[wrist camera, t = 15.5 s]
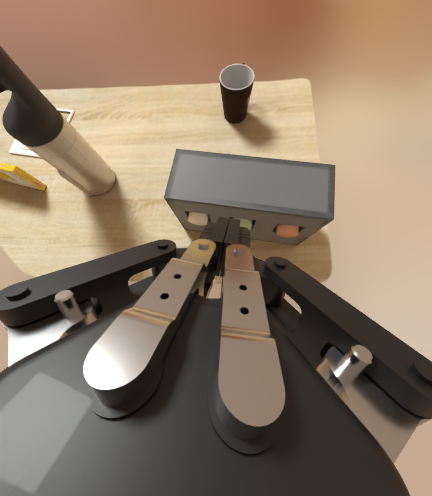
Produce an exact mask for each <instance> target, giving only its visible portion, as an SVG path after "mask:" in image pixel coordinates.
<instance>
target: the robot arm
mask: <svg viewBox="0 0 432 496" xmlns="http://www.w3.org/2000/svg"><path fill="white" fill-rule="evenodd" d="M7 89H8V90H10V91H12V96H11V99H10V101H9V103H8V105H7V107H6V109H5V111H4V114H3V125H4V128H5V129H6V131H7V132H8V133H9V134H10V135H11V136H12V137H14V138H15V139H16V140H18V141H19V142H20V143H22V144H23V145H25V146H26V147H27V148H29V149H30V150H31V151H33V152H34V153H35V154H37V155H38V156H40V157H41V158H42V159H44V160H45V161H46V162H48V163H49V164H50V165H52V166H53V167H55V168H56V169H57V171H58V172H59V174H60V175H61V176H62V177H63V178H65V179H66V180H67V181H69V182H70V183H72V184H73V185H74V186H76V187H77V188H79V189H80V190H81V191H83V192H84V193H86V194H87V195H88V196H90V197H91V196H92V195H100V194H103V193H105V192H107V191H109V190H110V189H111V188H112V186H113V185H114V183H115V173H114V171H113V170H112V169H111V168H110V166H109V165H108V164H107V163H106V162H105V161H104V160H103V159H102V158H101V157H100V156H99V155H98V154H97V152H96V151H95V150H94V149H93V148H92V147H91V146H90V145H89V144H88V143H87V142H86V141H85V139H84V138H83V137H82V136H81V135H80V134H79V133H78V132H77V131H76V130H75V129H74V128H73V126H72V125H71V124H70V123H69V122H68V121H67V120H66V119H65V118H64V117H63V116H62V115H61V114H60V112H59V111H58V110H57V109H56V108H55V107H54V106H53V105H52V104H51V103H50V102H49V101H48V100H47V98H46V97H45V96H44V95H43V94H42V93H41V92H40V91H39V90H38V89H37V88H36V86H35V85H34V84H33V83H32V82H31V81H30V80H29V79H28V78H27V77H26V75H25V74H24V73H23V72H22V71H21V70H20V68H19V67H18V66H17V65H16V64H15V63H14V61H13V60H12V59H11V58H10V57H9V56H8V54H7V53H6V52H5V51H4V50H3V48H2V47H1V46H0V93H1V92H3V91H5V90H7ZM149 268H152V273H153V276H151V277H148V278H146V279H144V280H141V281H139V282H137V283H134V284H132V285H130V286H128V280H129V278H130V277H131V276H133V275H134V274H137V273H139V272H142V271H144V270H147V269H149ZM220 270H221V273H220ZM219 274H220V276H222V277H223V278H222V287H221V297H220V299H208V296H209V293H210V290H211V288H212V285H213V280H214V277H215V275H216V276H219ZM285 293H286V294H287V295H289V296H290V297H291V298H292V299H293V300H294V301H295V302H296V303H298V305H299V306H300V308H301V311H302V314H300V313H299V312H298V311H297V310H296V309H295V308H294V307H293V306H291V304H289V303H288V302H287V301H286V300H285V299H284V296H285ZM0 320H1V323H2V325H3V326H4V328H5V329H6V330H7V331H8V335H9V336H8V337H9V339H8V341H9V342H8V347H9V367H7V368H6V369H4V370H3V371H2V372H0V496H410V494H409V492H408V490H407V487H406V485H405V483H404V481H403V479H402V477H401V475H400V474H399V472H398V470H397V469H396V467H395V465H394V462H395V461H396V459H397V458H398V456H399V454H400V453H401V451H402V449H403V448H404V446H405V445H406V443H407V441H408V440H409V438H410V436H411V435H412V433H413V432H414V430H415V429H416V427H418V426H419V425H421V424H423V423H425V422H427V421H429V420H431V419H432V362H431V361H430V360H428V359H427V358H425V357H424V356H423V355H421V354H420V353H418V352H417V351H415V350H414V349H413V348H411V347H410V346H408V345H407V344H406V343H404V342H403V341H401V340H400V339H398V338H397V337H396V336H394V335H393V334H391V333H390V332H389V331H387V330H386V329H384V328H383V327H382V326H380V325H379V324H377V323H376V322H375V321H373V320H372V319H370V318H369V317H367V316H366V315H365V314H363V313H362V312H360V311H359V310H358V309H356V308H355V307H353V306H352V305H350V304H349V303H348V302H346V301H345V300H343V299H342V298H341V297H339V296H338V295H336V294H335V293H333V292H332V291H331V290H329V289H328V288H326V287H325V286H324V285H322V284H321V283H319V282H318V281H317V280H315V279H314V278H312V277H311V276H310V275H308V274H307V273H305V272H304V271H302V270H301V269H300V268H298V267H297V266H295V265H294V264H293V263H291V262H290V261H288V260H286V259H284V258H281V257H270V258H268V259H267V260H266V262H265V261H262V260H259V259H257V258H255V257H254V256H253V255H252V251H251V249H250V230H249V229H248V228H246V227H240V220H239V219H232V218H230V221H229V218H224V217H219V218H218V221H217V223H209V224H207V225H206V226H205V228H204V230H203V232H202V234H201V236H200V238H199V239H198V240H195V241H193V242H192V243H191V244H190V246H189V247H188V248H176V244H175V243H174V242H173V241H170V240H157V241H154V242H151V243H147V244H144V245H141V246H137V247H134V248H131V249H128V250H124V251H121V252H118V253H114V254H111V255H108V256H105V257H101V258H98V259H95V260H92V261H88V262H85V263H82V264H78V265H75V266H72V267H69V268H65V269H62V270H59V271H56V272H52V273H49V274H46V275H42V276H39V277H36V278H33V279H30V280H26V281H23V282H19V283H16V284H13V285H11V286H9V287H6V288H5V289H3V290H1V291H0Z"/></svg>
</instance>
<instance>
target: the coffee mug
mask: <svg viewBox="0 0 432 496" xmlns="http://www.w3.org/2000/svg"><path fill="white" fill-rule="evenodd" d="M219 79H220V87H221V94H222V101H223V109H224V116H225V119H226V120H227V121H228V122H230V123H239V122H241V121H243V120H244V119H245V117H246V112H247V108H248V104H249V99H250V95H251V90H252V86H253V82H254V72H253V70H252V69H251V68H250V67H248V66H246V65H245V64H244V63H243V64H233V65H229V66H227V67H226V68H224V69H223V70H222V71H221V73H220V76H219Z"/></svg>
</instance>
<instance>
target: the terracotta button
mask: <svg viewBox="0 0 432 496" xmlns="http://www.w3.org/2000/svg"><path fill="white" fill-rule="evenodd" d="M298 230H299V226H293V225H286V224H277V232H276V234H277V235H278V236H280V237H286V238H291V237H296V236H298Z"/></svg>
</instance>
